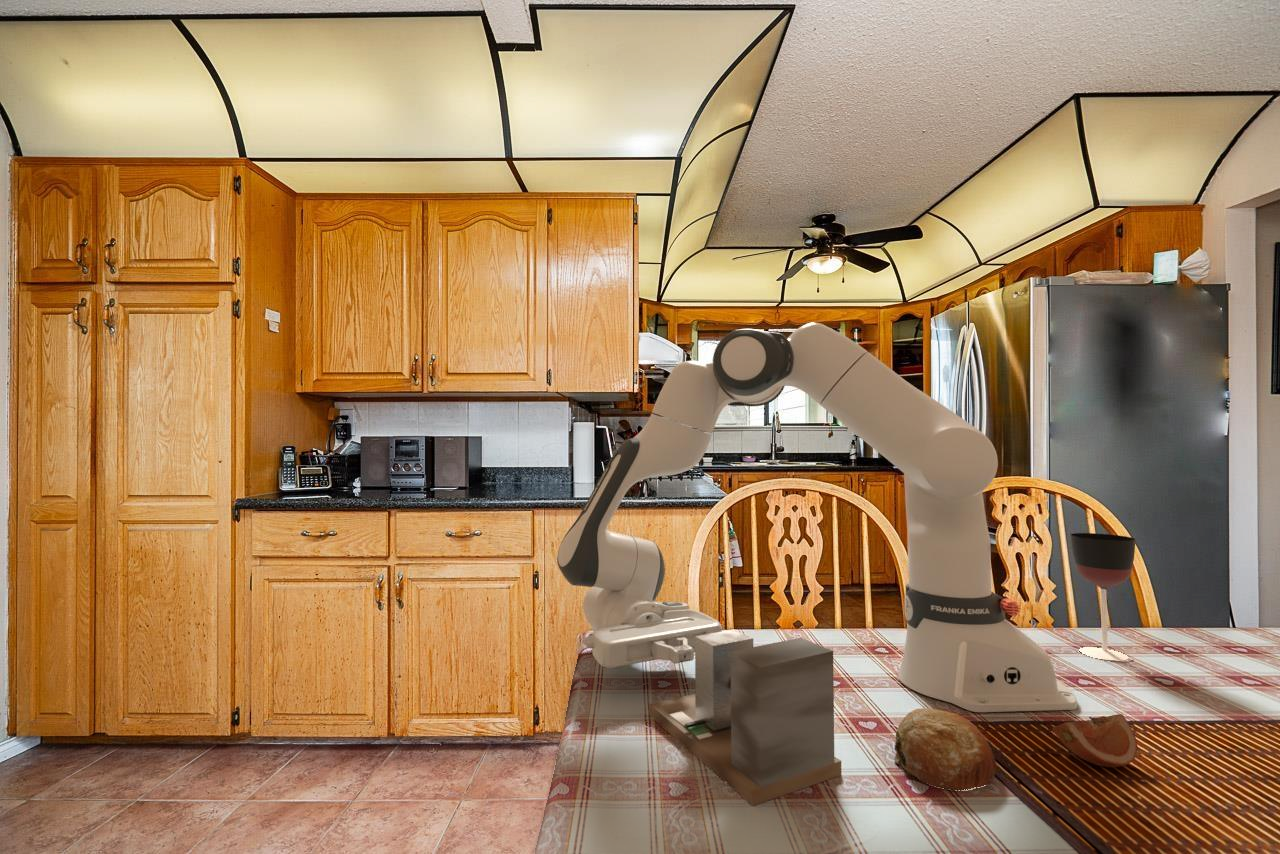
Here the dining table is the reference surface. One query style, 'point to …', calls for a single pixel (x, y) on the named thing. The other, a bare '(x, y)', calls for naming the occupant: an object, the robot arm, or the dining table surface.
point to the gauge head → (715, 676)
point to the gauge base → (766, 721)
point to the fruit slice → (1100, 740)
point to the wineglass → (1103, 574)
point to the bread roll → (944, 750)
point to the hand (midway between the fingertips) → (685, 656)
